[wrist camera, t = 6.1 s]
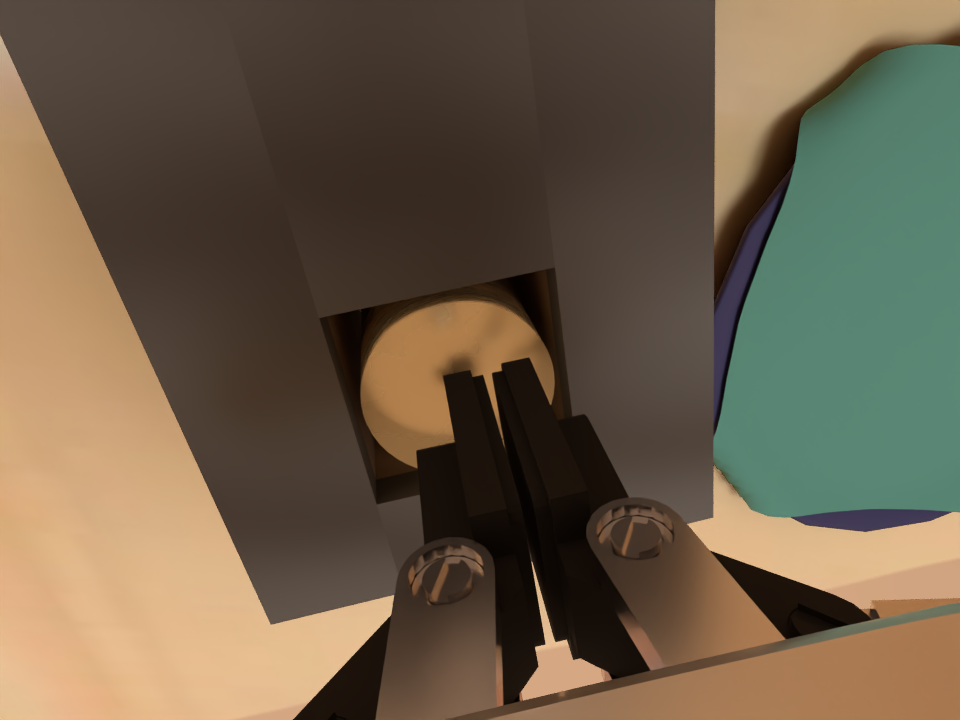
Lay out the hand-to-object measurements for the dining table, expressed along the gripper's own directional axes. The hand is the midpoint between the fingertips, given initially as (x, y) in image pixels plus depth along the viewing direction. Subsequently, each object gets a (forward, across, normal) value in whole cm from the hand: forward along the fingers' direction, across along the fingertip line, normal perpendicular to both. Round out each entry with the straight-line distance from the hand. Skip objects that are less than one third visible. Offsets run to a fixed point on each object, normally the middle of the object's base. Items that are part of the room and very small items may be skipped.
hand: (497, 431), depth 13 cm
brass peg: (+10, +1, 0) cm, 10 cm away
